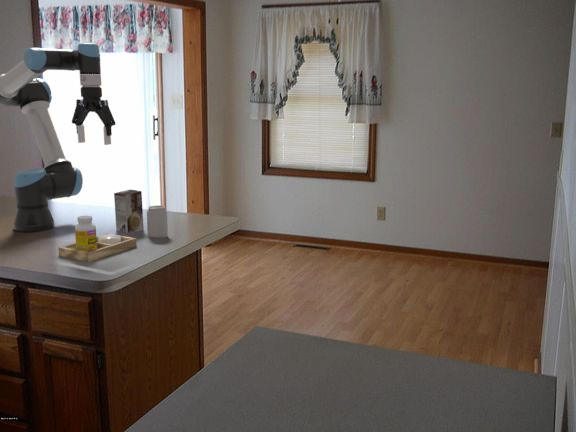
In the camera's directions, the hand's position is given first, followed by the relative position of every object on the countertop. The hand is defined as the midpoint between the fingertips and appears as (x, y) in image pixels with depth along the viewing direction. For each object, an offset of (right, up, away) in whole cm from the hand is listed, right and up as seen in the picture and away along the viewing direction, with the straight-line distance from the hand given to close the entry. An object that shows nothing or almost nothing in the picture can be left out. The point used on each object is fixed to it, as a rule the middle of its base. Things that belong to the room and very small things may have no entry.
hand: (94, 143), depth 228 cm
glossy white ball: (+11, -39, -17) cm, 44 cm away
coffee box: (+11, -34, +8) cm, 37 cm away
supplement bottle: (+6, -41, -26) cm, 49 cm away
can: (+24, -36, 0) cm, 43 cm away
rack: (+9, -40, -22) cm, 47 cm away
